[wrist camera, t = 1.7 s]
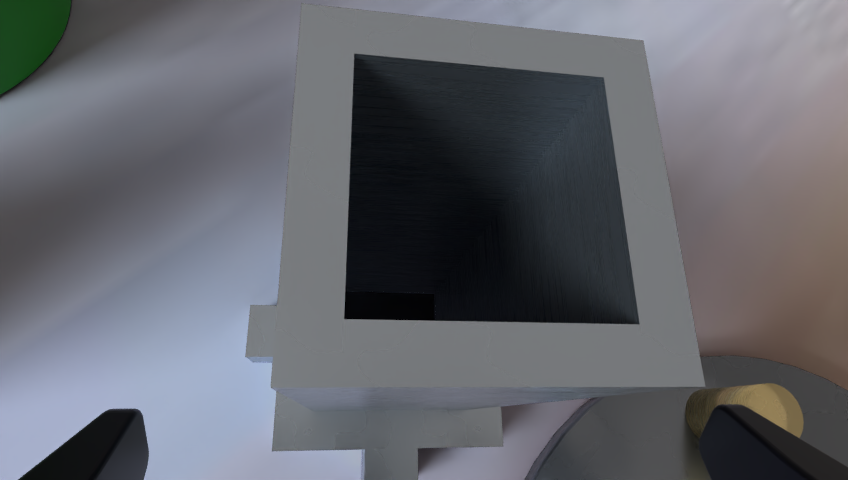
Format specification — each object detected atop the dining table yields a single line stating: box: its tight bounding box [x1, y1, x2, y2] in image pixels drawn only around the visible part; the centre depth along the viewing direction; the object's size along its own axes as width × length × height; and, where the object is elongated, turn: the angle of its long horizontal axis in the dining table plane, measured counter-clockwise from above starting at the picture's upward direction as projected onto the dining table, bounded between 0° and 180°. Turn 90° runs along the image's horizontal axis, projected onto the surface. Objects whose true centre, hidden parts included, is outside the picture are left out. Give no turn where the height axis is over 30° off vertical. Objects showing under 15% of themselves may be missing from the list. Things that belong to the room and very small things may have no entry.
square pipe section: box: [245, 3, 705, 480], centre depth 12 cm, size 9×9×13 cm
